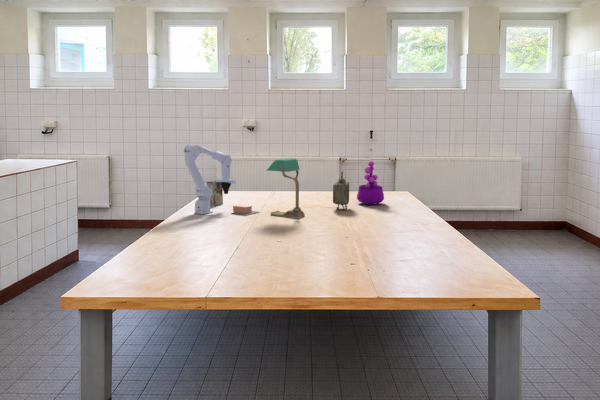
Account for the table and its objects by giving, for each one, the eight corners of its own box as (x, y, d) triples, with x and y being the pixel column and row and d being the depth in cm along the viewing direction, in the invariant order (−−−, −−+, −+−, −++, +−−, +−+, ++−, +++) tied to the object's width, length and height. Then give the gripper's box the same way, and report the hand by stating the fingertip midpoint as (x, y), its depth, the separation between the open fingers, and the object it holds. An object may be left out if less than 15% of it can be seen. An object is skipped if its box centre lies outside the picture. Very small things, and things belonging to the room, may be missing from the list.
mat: (246, 215, 349) (246, 215, 349) (230, 213, 355) (230, 213, 355) (259, 212, 361) (259, 211, 361) (244, 210, 367) (244, 209, 367)
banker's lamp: (294, 219, 338) (294, 160, 332) (265, 216, 348) (265, 159, 343) (307, 215, 351) (307, 158, 346) (279, 212, 362) (279, 157, 356)
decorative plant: (376, 207, 383) (377, 162, 378) (352, 204, 393) (352, 161, 388) (388, 203, 398) (389, 160, 394) (364, 200, 408) (365, 159, 404)
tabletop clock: (346, 211, 366) (347, 172, 362) (332, 210, 368) (332, 172, 364) (349, 207, 380) (349, 170, 376) (335, 207, 382) (336, 170, 378)
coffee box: (216, 203, 396) (216, 180, 393) (223, 204, 392) (222, 181, 389) (206, 204, 389) (206, 181, 386) (213, 205, 385) (213, 182, 382)
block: (233, 212, 359) (246, 213, 354) (233, 205, 358) (246, 207, 353) (238, 210, 364) (251, 212, 359) (238, 204, 364) (251, 205, 359)
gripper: (238, 173, 367) (238, 193, 369) (220, 171, 374) (221, 192, 376) (231, 174, 361) (232, 195, 363) (213, 172, 368) (214, 193, 370)
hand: (226, 193), depth 369 cm, fingers closed
